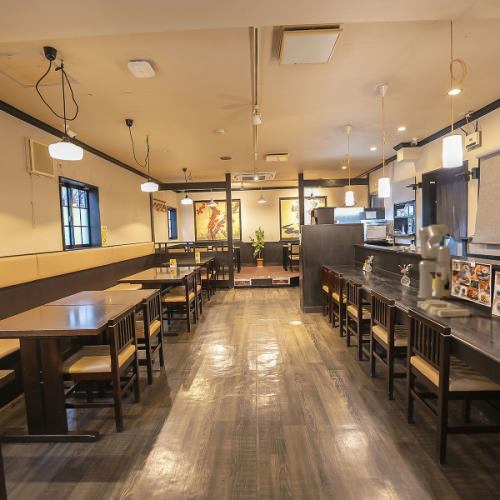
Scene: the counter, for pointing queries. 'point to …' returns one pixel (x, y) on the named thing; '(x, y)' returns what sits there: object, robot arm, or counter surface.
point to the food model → (441, 287)
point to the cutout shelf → (443, 308)
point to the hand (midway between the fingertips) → (442, 288)
